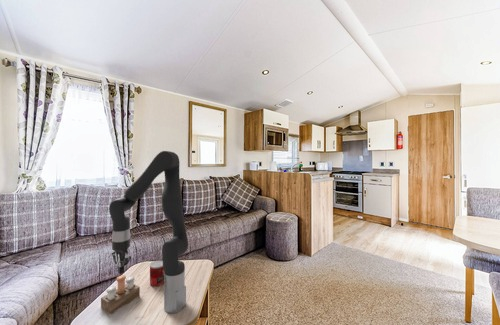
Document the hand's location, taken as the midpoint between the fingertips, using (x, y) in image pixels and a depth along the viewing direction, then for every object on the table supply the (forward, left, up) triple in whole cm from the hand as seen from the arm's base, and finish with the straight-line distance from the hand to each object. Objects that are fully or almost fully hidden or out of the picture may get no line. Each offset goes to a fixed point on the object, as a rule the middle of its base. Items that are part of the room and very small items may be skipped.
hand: (121, 273), depth 100 cm
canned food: (-2, -19, -15) cm, 24 cm away
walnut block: (0, 0, -15) cm, 15 cm away
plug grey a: (0, +4, -14) cm, 15 cm away
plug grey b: (0, -5, -14) cm, 15 cm away
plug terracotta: (0, 0, -11) cm, 11 cm away
